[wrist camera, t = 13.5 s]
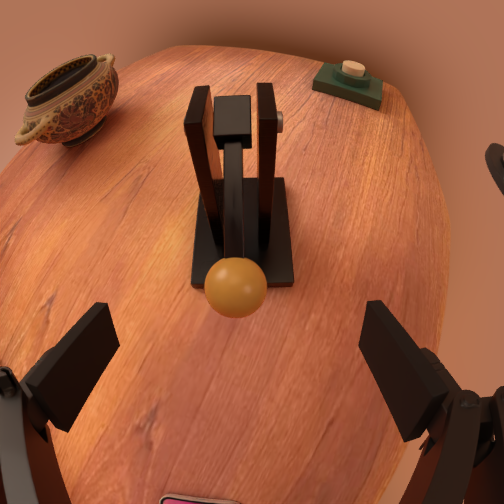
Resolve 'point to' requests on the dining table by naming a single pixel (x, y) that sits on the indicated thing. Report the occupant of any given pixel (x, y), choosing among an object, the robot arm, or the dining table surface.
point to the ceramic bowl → (70, 102)
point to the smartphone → (191, 500)
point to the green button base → (349, 85)
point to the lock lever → (234, 216)
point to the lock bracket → (255, 193)
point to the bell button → (353, 68)
